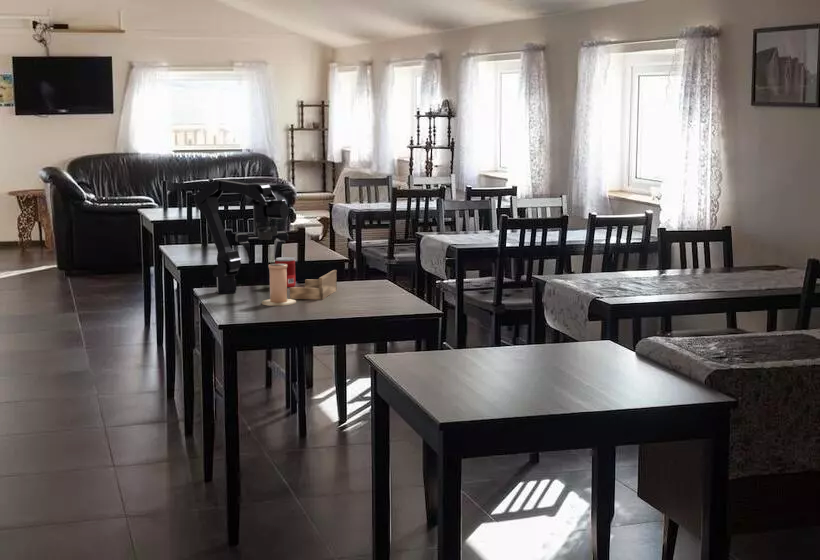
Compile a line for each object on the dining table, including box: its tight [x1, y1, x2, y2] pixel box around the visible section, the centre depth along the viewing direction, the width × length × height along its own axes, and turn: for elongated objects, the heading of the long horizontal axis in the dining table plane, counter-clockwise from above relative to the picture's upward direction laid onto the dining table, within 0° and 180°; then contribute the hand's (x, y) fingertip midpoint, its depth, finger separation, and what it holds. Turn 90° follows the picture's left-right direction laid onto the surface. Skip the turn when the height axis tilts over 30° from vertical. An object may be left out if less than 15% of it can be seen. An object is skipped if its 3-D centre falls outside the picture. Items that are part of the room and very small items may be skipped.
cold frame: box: [289, 269, 338, 300], centre depth 408 cm, size 12×21×8 cm, turn 170°
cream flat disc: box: [261, 298, 297, 307], centre depth 390 cm, size 12×12×1 cm
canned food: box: [274, 256, 296, 287], centre depth 428 cm, size 8×8×11 cm
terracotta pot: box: [268, 263, 288, 303], centre depth 390 cm, size 7×7×13 cm
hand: (262, 260), depth 405 cm, fingers open, 9 cm apart
